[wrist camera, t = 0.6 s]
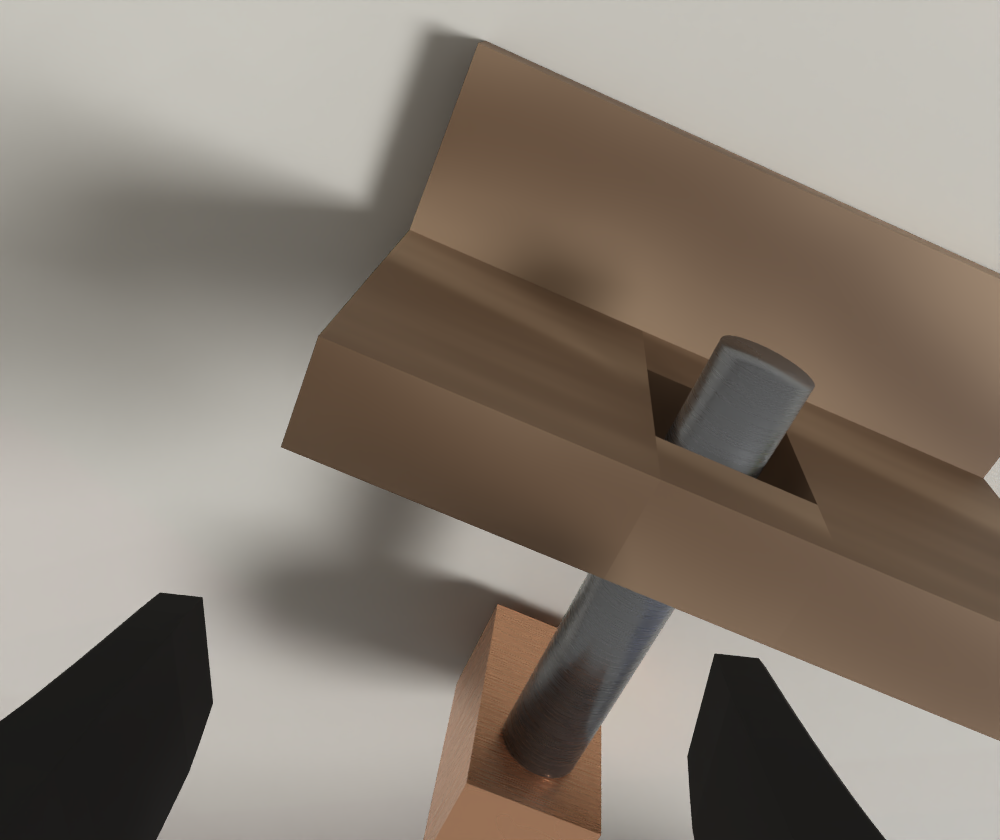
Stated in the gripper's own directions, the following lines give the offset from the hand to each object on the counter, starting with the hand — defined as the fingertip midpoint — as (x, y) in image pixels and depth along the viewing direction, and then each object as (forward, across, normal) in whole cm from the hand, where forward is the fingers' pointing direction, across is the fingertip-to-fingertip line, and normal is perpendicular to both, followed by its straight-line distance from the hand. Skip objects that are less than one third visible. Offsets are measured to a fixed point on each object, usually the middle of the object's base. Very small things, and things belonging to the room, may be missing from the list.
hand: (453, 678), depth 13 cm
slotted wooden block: (+10, -5, -2) cm, 11 cm away
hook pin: (+9, -3, +3) cm, 10 cm away
